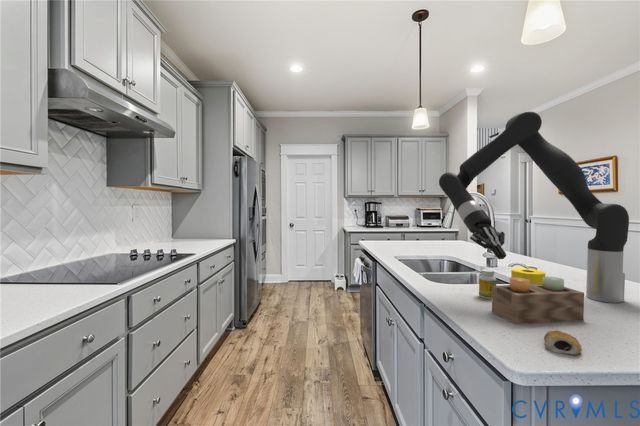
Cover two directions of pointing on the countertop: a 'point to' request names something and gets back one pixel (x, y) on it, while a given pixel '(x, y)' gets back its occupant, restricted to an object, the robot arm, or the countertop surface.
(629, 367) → the countertop surface
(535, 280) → the tape roll
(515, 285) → the orange button
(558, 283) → the sage button
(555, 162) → the robot arm
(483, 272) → the supplement bottle
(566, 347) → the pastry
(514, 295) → the wooden compartment box
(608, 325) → the countertop surface
